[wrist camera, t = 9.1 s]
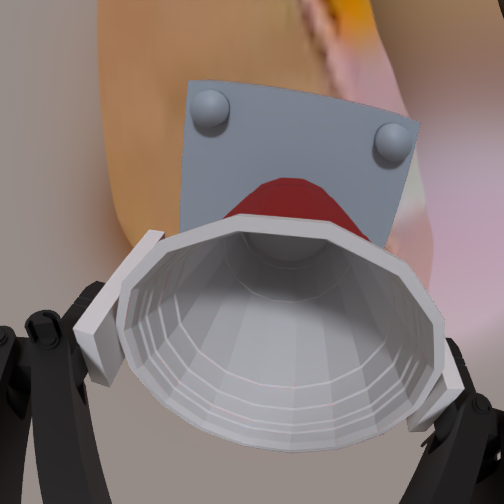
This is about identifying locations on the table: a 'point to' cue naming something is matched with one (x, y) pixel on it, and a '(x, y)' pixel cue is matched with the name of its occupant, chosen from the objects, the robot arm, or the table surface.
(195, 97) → the base block
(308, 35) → the table surface
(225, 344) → the plastic cup
